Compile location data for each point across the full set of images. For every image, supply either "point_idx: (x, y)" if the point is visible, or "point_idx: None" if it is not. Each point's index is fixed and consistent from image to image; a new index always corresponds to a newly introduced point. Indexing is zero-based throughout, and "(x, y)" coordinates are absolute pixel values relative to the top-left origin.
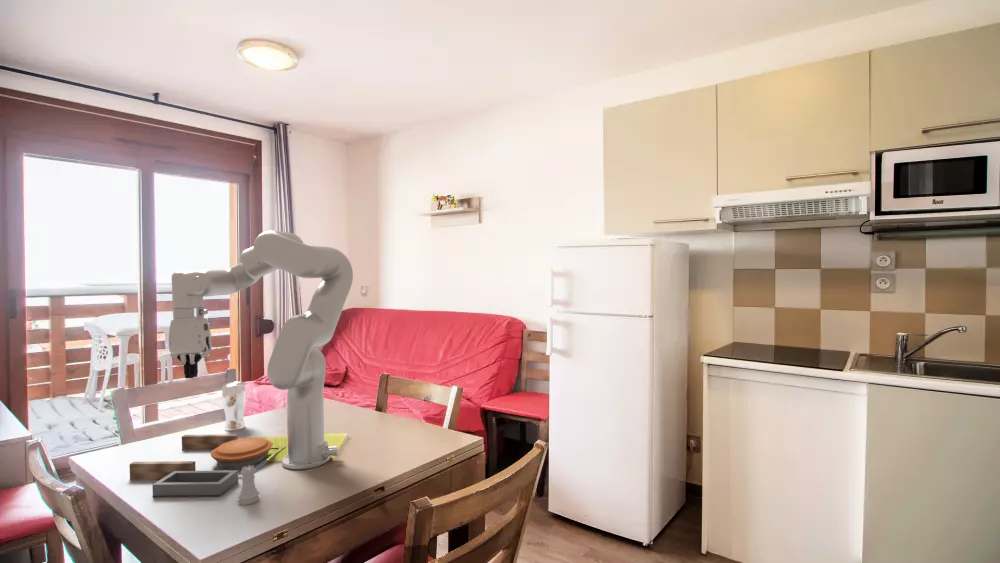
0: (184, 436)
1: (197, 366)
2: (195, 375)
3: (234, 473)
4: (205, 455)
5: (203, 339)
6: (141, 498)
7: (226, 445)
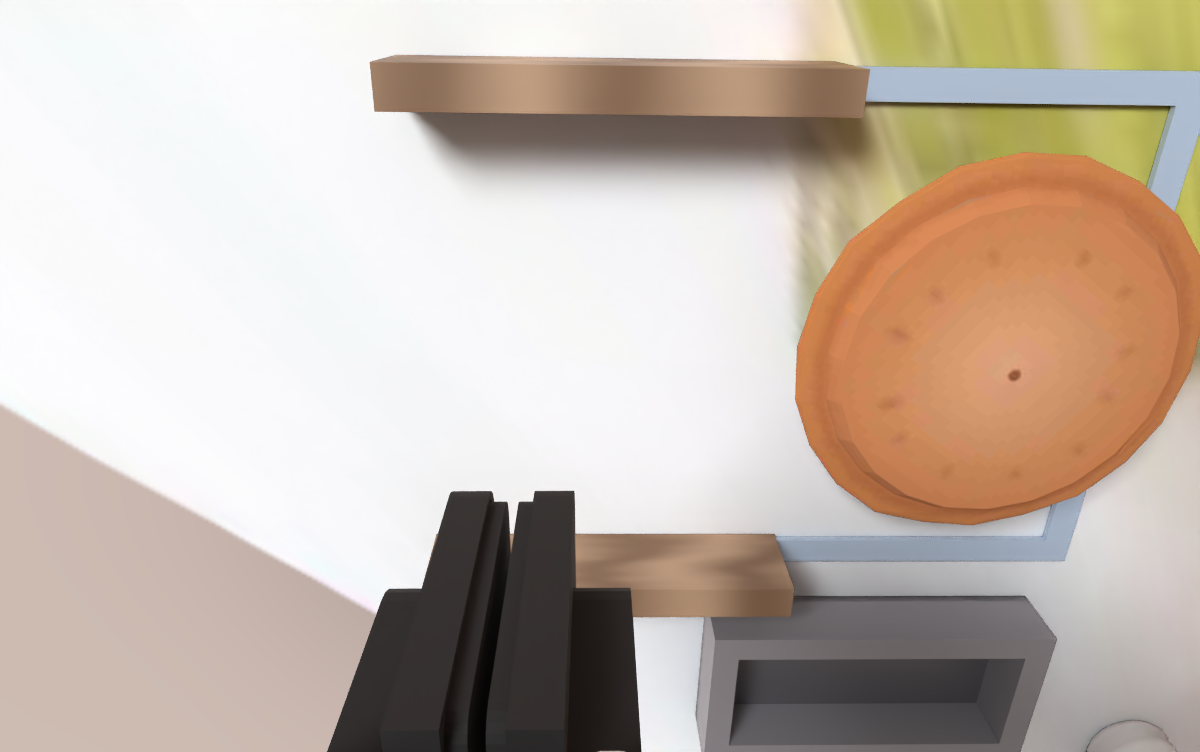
0: (400, 111)
1: (638, 711)
2: (574, 549)
3: (1047, 663)
4: (656, 224)
5: None
6: (651, 720)
7: (899, 386)
